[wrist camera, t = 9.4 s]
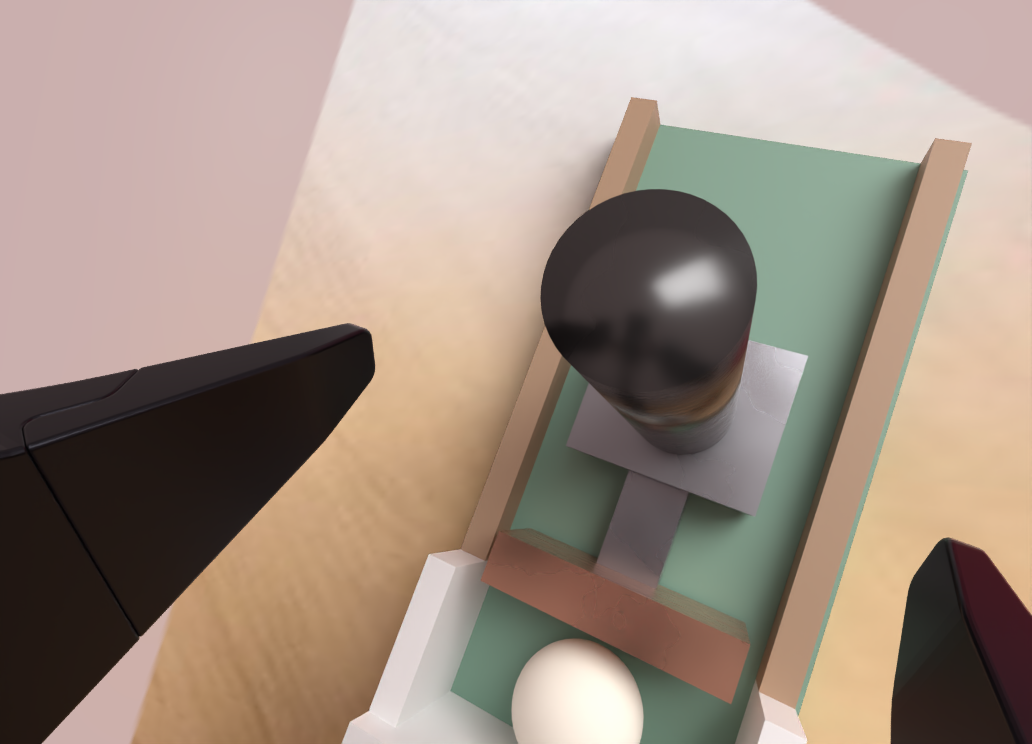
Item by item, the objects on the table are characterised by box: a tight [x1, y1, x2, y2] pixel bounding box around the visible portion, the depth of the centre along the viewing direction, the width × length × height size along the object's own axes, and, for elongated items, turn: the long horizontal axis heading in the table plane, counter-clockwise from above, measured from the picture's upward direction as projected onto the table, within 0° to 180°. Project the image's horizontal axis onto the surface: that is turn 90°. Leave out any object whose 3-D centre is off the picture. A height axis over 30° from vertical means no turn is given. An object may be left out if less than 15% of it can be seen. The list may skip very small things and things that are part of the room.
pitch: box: [450, 97, 972, 744], centre depth 21 cm, size 24×12×2 cm, turn 158°
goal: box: [342, 549, 807, 744], centre depth 18 cm, size 6×11×5 cm, turn 68°
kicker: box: [480, 189, 808, 704], centre depth 15 cm, size 10×8×13 cm
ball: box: [511, 638, 644, 744], centre depth 18 cm, size 4×4×4 cm
